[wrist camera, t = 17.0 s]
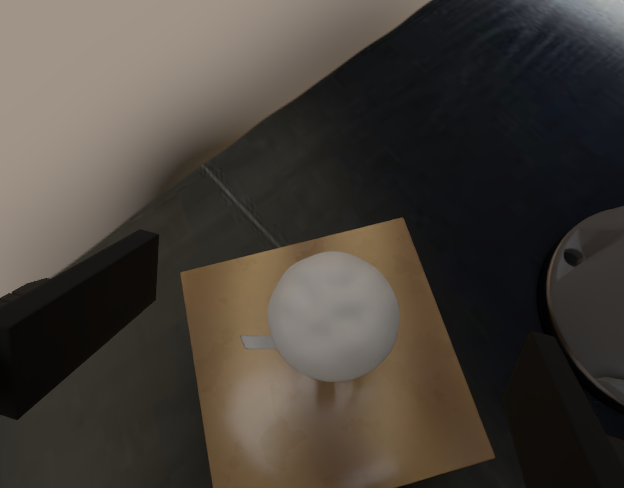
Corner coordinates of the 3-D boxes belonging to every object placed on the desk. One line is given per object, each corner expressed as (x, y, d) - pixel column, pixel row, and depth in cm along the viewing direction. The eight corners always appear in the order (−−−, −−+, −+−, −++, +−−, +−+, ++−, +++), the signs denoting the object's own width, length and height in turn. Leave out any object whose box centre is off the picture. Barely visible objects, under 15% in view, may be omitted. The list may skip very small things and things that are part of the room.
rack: (384, 270, 34) (403, 216, 26) (447, 453, 29) (496, 457, 21) (-22, 375, 32) (-142, 351, 24) (-30, 593, 27) (-186, 661, 19)
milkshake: (257, 341, 24) (214, 276, 14) (349, 297, 24) (364, 209, 15) (294, 426, 22) (273, 415, 13) (392, 375, 23) (437, 330, 13)
